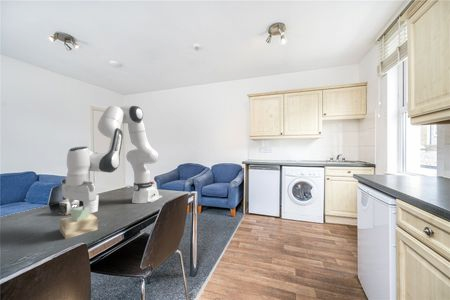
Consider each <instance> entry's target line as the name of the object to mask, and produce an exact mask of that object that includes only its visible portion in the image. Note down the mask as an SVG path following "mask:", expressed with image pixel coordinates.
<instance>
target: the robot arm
mask: <svg viewBox="0 0 450 300" xmlns="http://www.w3.org/2000/svg"><path fill="white" fill-rule="evenodd" d="M143 117H144V112H143V109H142V108H141V107H140V106H136V105H128V106H127V105H125V106H124V105H123V106H117V105H110V106H108V107H107V108H106V109H105V110H104V112H103V113H102V115H101V117H100V118H99V121H98V123H97V129H98V131H99V133H101V134H102V135H103V136H105V137H106V138H109V139H110V142H109V148H108V151H107V152H104V153H99V152H94V151H91V150H90V149H89V147H87V146H76V147H71V148H70V149H68V151H67V154H66V155H67V156H66V168H67V174H66V177H65V178H62V179H61V181H60V183H61V189H62V190H61V193H62V198H63V197H64V198H67V199H69V203H70V207H71V208H75V207H76V204H75V200H78V201H79V202H83V201H84V203H83V206H84V207H83V210H85V211H86V210H88V209H89V204H90V202H91V201H95V200H96V194H97V191H96V187H95V185H94V183H93V182H92V181H91V172H103V173H114V172H115V171H116V170H117V169H118V168H119V166H120V154H121V150H122V145H123V137H124V135H123V131H122V130H121V127H122V124H127V129H128V134H129V138H130V139H129V140H130V143H131V145H133V146H134V147H136V148H135V149H131V150H129V151H127V153H126V155H125V158H126V161H127V162H129V164H130V165H131V168H132V170H133V178H134V179H133V195H132V200H131V203H132V204H148V203H154V202H156V201H157V200H159V199H161V198H163V195H161V194H159V193H160V192H159V190H158V189H157V188H156V187H154V186H153V185H155V181H151V171H150V170H149V169H148V168H147V166H146V165H151V164H155V163H157V162H158V159H159V153H158V151H157V150H155V149H154V148H153V147H152V146H151V144H150V143H149V140H148V136H147V132H146V128H145V127H146V126H145V123H144V121H143Z"/></svg>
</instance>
